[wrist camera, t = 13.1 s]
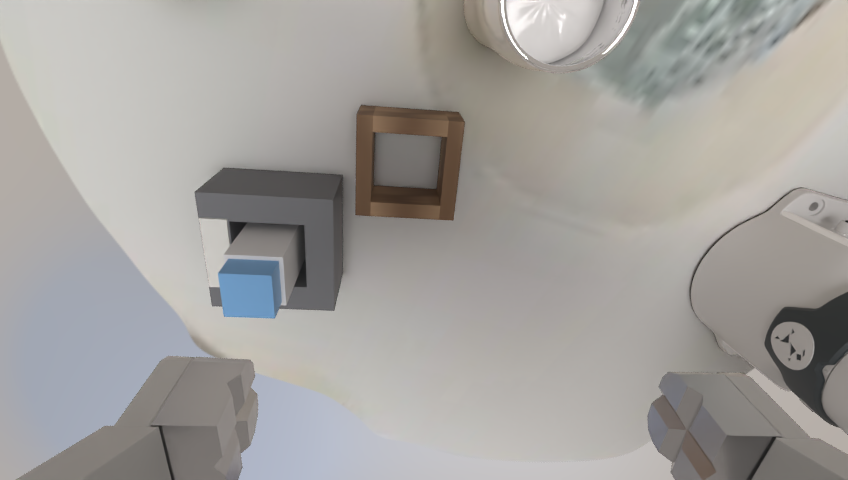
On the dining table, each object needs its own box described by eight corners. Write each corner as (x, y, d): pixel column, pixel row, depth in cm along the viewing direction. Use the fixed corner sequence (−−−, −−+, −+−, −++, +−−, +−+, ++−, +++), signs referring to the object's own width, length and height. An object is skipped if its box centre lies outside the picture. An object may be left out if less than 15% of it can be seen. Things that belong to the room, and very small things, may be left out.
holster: (458, 112, 37) (464, 122, 33) (448, 202, 41) (453, 220, 37) (361, 105, 36) (356, 114, 33) (359, 197, 40) (355, 215, 36)
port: (342, 174, 39) (332, 200, 33) (342, 274, 43) (334, 312, 38) (223, 167, 38) (193, 193, 33) (235, 269, 43) (211, 307, 37)
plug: (309, 204, 40) (275, 271, 29) (310, 244, 42) (279, 322, 31) (263, 201, 40) (212, 269, 29) (266, 241, 41) (219, 319, 31)
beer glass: (516, 72, 36) (585, 104, 22) (440, 26, 34) (466, 31, 21) (567, -16, 33) (680, -40, 20) (488, -70, 32) (553, -136, 18)
